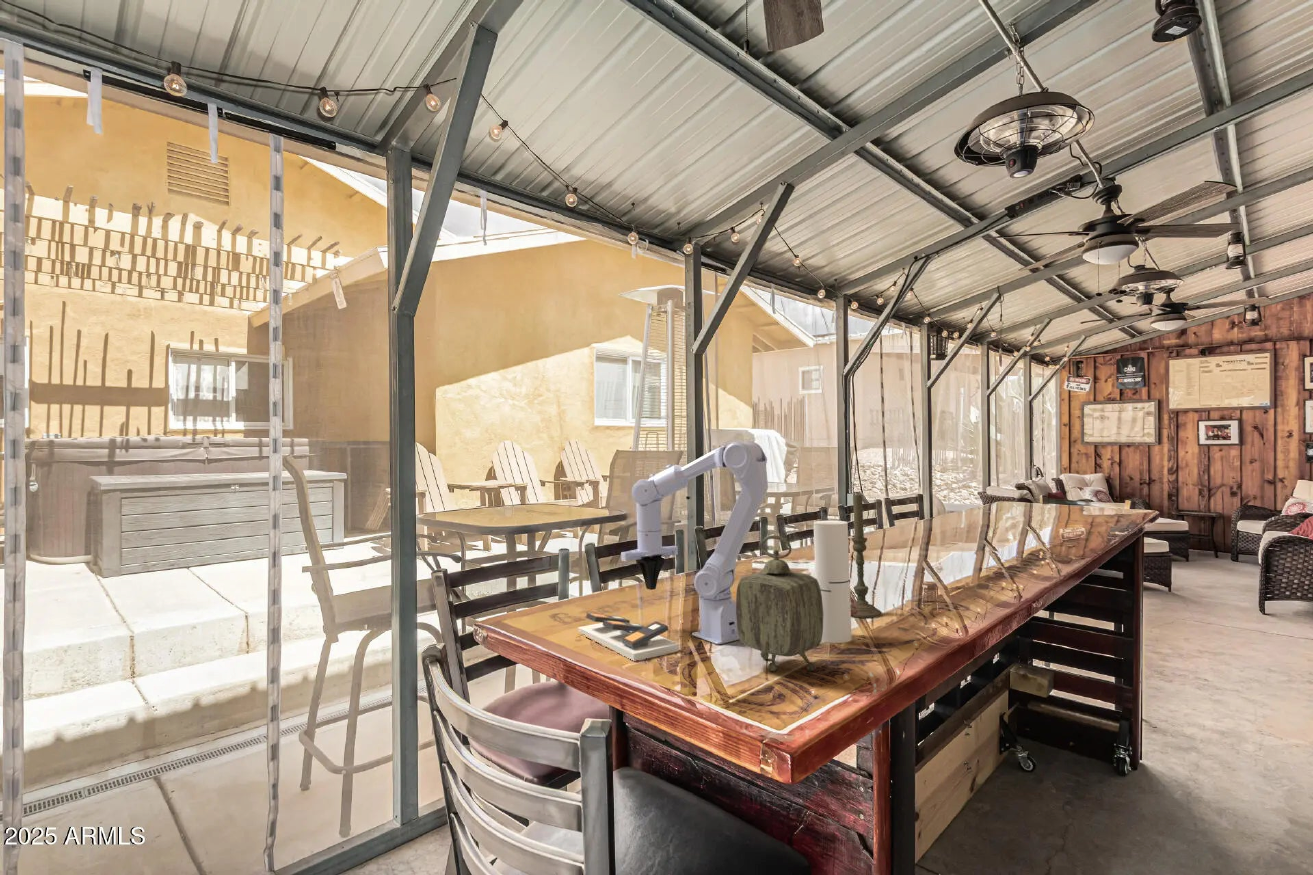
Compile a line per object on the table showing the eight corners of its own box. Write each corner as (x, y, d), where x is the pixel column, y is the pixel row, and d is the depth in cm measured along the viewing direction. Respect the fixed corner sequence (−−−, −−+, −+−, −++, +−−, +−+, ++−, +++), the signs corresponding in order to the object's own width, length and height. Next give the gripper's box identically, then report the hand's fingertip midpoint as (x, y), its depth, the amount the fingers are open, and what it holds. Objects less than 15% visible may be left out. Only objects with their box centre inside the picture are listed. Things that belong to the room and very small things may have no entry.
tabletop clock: (825, 671, 121) (820, 535, 122) (797, 684, 115) (792, 541, 115) (762, 654, 132) (758, 530, 132) (733, 666, 125) (729, 535, 126)
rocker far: (629, 624, 150) (630, 619, 151) (595, 621, 146) (596, 616, 146) (619, 620, 154) (620, 616, 154) (586, 617, 149) (587, 612, 150)
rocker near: (668, 630, 137) (667, 625, 137) (633, 648, 132) (631, 643, 132) (657, 625, 141) (655, 620, 141) (622, 643, 136) (621, 638, 136)
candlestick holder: (835, 611, 164) (831, 491, 165) (866, 607, 167) (862, 490, 168) (856, 619, 156) (852, 493, 156) (889, 615, 158) (884, 491, 159)
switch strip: (679, 650, 136) (679, 638, 136) (633, 661, 130) (633, 648, 130) (619, 625, 157) (619, 615, 157) (578, 633, 151) (577, 623, 151)
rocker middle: (647, 632, 144) (648, 627, 144) (612, 629, 139) (613, 623, 139) (637, 628, 147) (638, 623, 148) (602, 625, 143) (603, 619, 143)
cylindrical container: (853, 643, 137) (848, 524, 138) (818, 642, 139) (814, 524, 139) (850, 633, 144) (846, 520, 145) (816, 633, 146) (812, 520, 146)
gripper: (665, 526, 161) (667, 581, 160) (613, 531, 153) (615, 590, 153) (682, 528, 155) (683, 586, 154) (629, 534, 147) (631, 595, 147)
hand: (651, 588), depth 153 cm, fingers closed
